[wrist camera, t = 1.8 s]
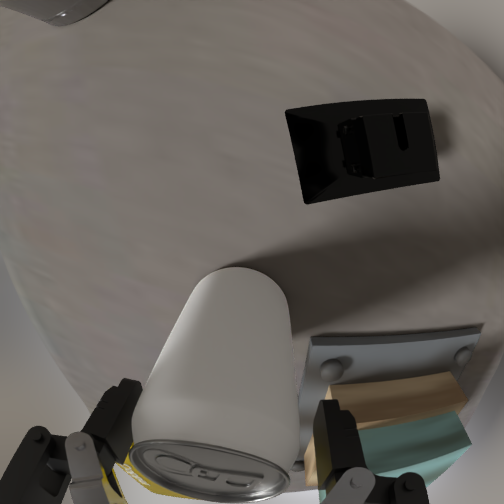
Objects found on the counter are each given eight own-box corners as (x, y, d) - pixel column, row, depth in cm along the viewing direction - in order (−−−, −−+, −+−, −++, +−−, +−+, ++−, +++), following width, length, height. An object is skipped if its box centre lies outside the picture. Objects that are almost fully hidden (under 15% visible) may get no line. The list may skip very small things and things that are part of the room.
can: (203, 250, 17) (109, 404, 6) (303, 281, 17) (340, 458, 6) (183, 331, 19) (121, 477, 8) (269, 356, 19) (264, 512, 8)
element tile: (103, 414, 25) (88, 442, 21) (219, 420, 23) (212, 459, 19) (157, 471, 30) (150, 495, 25) (254, 477, 28) (252, 505, 23)
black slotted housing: (436, 89, 13) (476, 77, 8) (453, 192, 15) (495, 205, 11) (255, 104, 14) (250, 85, 10) (282, 223, 17) (287, 247, 12)
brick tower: (310, 336, 19) (329, 445, 10) (476, 327, 18) (528, 389, 9) (280, 463, 25) (280, 526, 17) (402, 450, 25) (417, 503, 16)
